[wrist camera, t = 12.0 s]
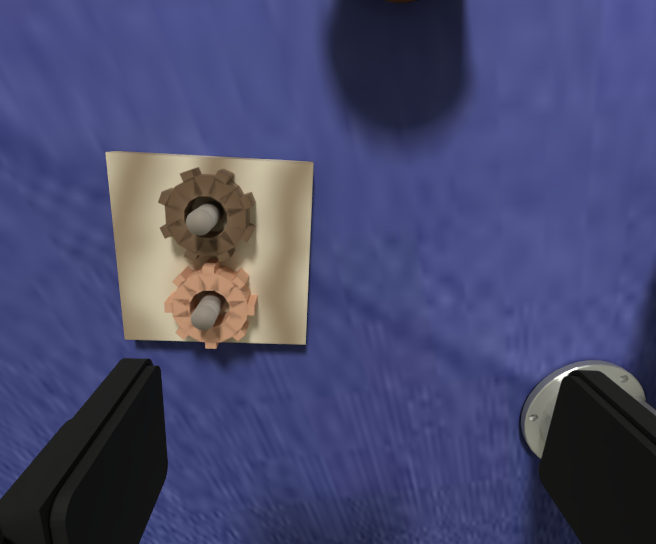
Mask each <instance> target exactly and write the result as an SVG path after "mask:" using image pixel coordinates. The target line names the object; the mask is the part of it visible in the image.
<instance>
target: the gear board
mask: <svg viewBox="0 0 656 544" xmlns="http://www.w3.org/2000/svg"><path fill="white" fill-rule="evenodd" d="M106 161H107V171H108V181H109V190H110V200H111V210H112V219H113V229H114V239H115V248H116V258H117V268H118V277H119V287H120V297H121V307H122V316H123V326H124V336H125V339H127V340H162V341H197V342H200V341H198V340H196V339H194V338H193V337H191V336H189V335H188V336H187V337H186V338H185V339H184V340H183V339H182V338H181V337H180V336H178V335H177V334H176V333H175V332H176V331H177V329H178V328H179V325H178V324H177V323H176V321H175V320H174V318H173V316H172V313H165V309H164V302H165V301H166V300H167V298H168V297H169V296H170V295H171V294H172V292H175V291H176V290H177V288H178V287H177V286H176V285H175V284H174V283H173V282H172V281H173V280H174V279H175V278H176V277H177V276H178V275H179V274H180V273H181V272H182V271H183V270H184V269H185V268H186V267H187V266H189V267H190V268H191V269H192V270H193V271H194V270H196V269H198V268H200V267H202V266H203V265H204V264H205V263H206V261H207V260H208V259H209V258H218V260H219V262H220V265H224V266H226V267H228V268H230V269H231V270H233V271H235V272H237V271H238V270H239V269H241V268H242V269H243V270H244V271H245V272H246V273H247V274H248V275H249V276H248V279H247V281H246V284H247V285H248V287H249V289H250V290H251V295H258V305H257V308H256V311H255V315H254V316H252V315H248V317H247V321H248V322H249V325H248V328H247V331H246V334H245V336H243V337H242V338H241V339H240V340H239V341H237V340H235V339H234V338H233V337H231V338H229V339H227V340H225V341H223V342H232V343H267V344H302V345H306V323H307V300H308V277H309V254H310V231H311V208H312V185H313V162H308V161H290V160H271V159H253V158H234V157H216V156H197V155H179V154H160V153H142V152H123V151H113V152H106ZM197 303H198V306H197V307H196V309H195V310H194V312H193V313H192V315H191V322H192V324H193V326H194V327H195V328H197V329H199V330H208V329H210V328H211V327H212V326H213V325H214V323H215V321H216V319H217V317H218V315H223V314H225V313H227V312H229V311H230V307H229V303H228V302H227V300H226V299H225V297H224V296H223V295H221V294H219V293H217V292H216V291H206V290H203V291H201V292H199V293H197Z"/></svg>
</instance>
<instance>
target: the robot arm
mask: <svg viewBox="0 0 656 544" xmlns="http://www.w3.org/2000/svg"><path fill="white" fill-rule="evenodd" d="M521 429H522V434H523V436H524V439H525V441H526V443H527V444H528V445H529V447H530V448H531V450H532V451H533V452H534V453H535V454H536V455H537V456H538V457H539V458H540V459H541V461H540V465H539V476H540V480H541V482H542V484H543V486H544V487H545V489H546V490H547V492H548V493H549V495H550V496H551V498H552V499H553V501H554V502H555V504H556V505H557V507H558V508H559V510H560V511H561V513H562V514H563V516H564V517H565V519H566V520H567V522H568V523H569V525H570V526H571V528H572V529H573V531H574V532H575V534H576V535H577V537H578V538H579V540H580V541H581V543H582V544H656V410H655V409H654V408H652V407H651V406H650V405H649V404H647V403H646V398H645V394H644V391H643V388H642V387H641V385H640V383H639V382H638V380H637V379H636V378H635V377H634V376H633V375H632V374H630V373H629V372H627V371H626V370H625V369H623V368H622V367H620V366H618V365H616V364H613V363H610V362H606V361H601V360H587V361H580V362H576V363H572V364H569V365H566V366H564V367H562V368H560V369H558V370H556V371H554V372H553V373H551V374H550V375H548V376H547V377H545V378H544V379H543V380H542V381H541V382H540V383H539V384H538V385H537V386H536V387H535V388H534V389H533V391H532V392H531V393H530V395H529V396H528V398H527V400H526V402H525V404H524V407H523V411H522V414H521ZM167 468H168V459H167V446H166V433H165V419H164V406H163V393H162V380H161V370H160V367H159V366H153V363H152V361H151V360H150V359H133V358H123V359H122V360H120V362H119V363H118V364H117V365H116V366H115V368H114V369H113V370H112V371H111V372H110V374H109V375H108V376H107V377H106V378H105V380H104V381H103V382H102V383H101V384H100V386H99V387H98V388H97V389H96V390H95V392H94V393H93V394H92V395H91V397H90V398H89V399H88V400H87V401H86V403H85V404H84V405H83V406H82V407H81V409H80V410H79V411H78V412H77V413H76V415H75V416H74V417H73V418H72V419H70V420H68V421H67V422H66V423H65V424H64V425H63V426H62V427H61V428H60V429H59V431H58V432H57V433H56V434H55V435H54V436H53V438H52V439H51V440H50V441H49V442H48V444H47V445H46V446H45V447H44V448H43V450H42V451H41V452H40V453H39V454H38V455H37V457H36V458H35V459H34V460H33V461H32V463H31V464H30V465H29V466H28V467H27V469H26V470H25V471H24V472H23V473H22V475H21V476H20V477H19V478H18V479H17V480H16V482H15V483H14V484H13V485H12V486H11V488H10V489H9V490H8V491H7V492H6V494H5V495H4V496H3V497H2V498H1V499H0V544H139V542H140V540H141V537H142V535H143V532H144V530H145V528H146V525H147V523H148V520H149V518H150V515H151V513H152V511H153V508H154V506H155V503H156V501H157V499H158V496H159V494H160V491H161V489H162V486H163V484H164V482H165V479H166V475H167Z"/></svg>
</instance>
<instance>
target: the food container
mask: <svg viewBox="0 0 656 544" xmlns="http://www.w3.org/2000/svg"><path fill="white" fill-rule="evenodd" d="M385 1H387V2H393V3H409V2H413V1H417V0H385Z"/></svg>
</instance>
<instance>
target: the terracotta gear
mask: <svg viewBox="0 0 656 544" xmlns="http://www.w3.org/2000/svg"><path fill="white" fill-rule="evenodd" d="M248 276H249V275H248V274H247V273H246V272H245V271H244V270H243V269H242V268H241V269H239V270H238V271H237V272H235V271H233V270H231V269H230V268H228V267H226V266H224V265H220V262H219V260H218V258H209V259H208V260H207V261H206V263H205V264H204V265H203V266H202V267H200V268H198V269H196V270H194V271H193V270H192V269H191V268H190V267H189V266H187V267H186V268H185V269H184V270H183V271H182V272H181V273H180V274H179V275H178V276H177V277H176V278H175V279H174V280H173V281H172V282H173V283H174V284H175V285H176V286H177V287H178V288H177V290H176V291H175V292H172V294H171V295H170V296H169V297H168V298H167V300H166V301H165V302H164V309H165V313H172V316H173V318H174V320H175V321H176V323H177V324H178V325H179V328H178V329H177V331H176V332H175V333H176V334H177V335H178V336H180V337H181V338H182V339H183V340H184V339H185V338H186V337H187V336H188V335H189V336H191V337H193V338H194V339H196V340H198V341H200V342H205V348H206V349H217V346H218V344H219V342H223V341H225V340H227V339H229V338H231V337H233V338H234V339H235V340H237V341H239V340H240V339H241V338H242V337H243V336H245V334H246V331H247V328H248V325H249V322H248V321H247V317H248V315H252V316H254V315H255V311H256V308H257V305H258V295H251V290H250V289H249V287H248V285H247V284H246V281H247V279H248ZM203 290H206V291H216V292H217V293H219V294H221V295H223V296H224V297H225V299H226V300H227V302H228V303H229V307H230V311H229V312H227V313H225V314H223V315H218V317H217V319H216V321H215V323H214V325H213V326H212V327H211V328H210V329H208V330H199V329H197V328H195V327H194V326H193V324H192V322H191V315H192V313H193V312H194V310H195V309H196V307H197V306H198V303H197V293H199V292H201V291H203Z"/></svg>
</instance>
